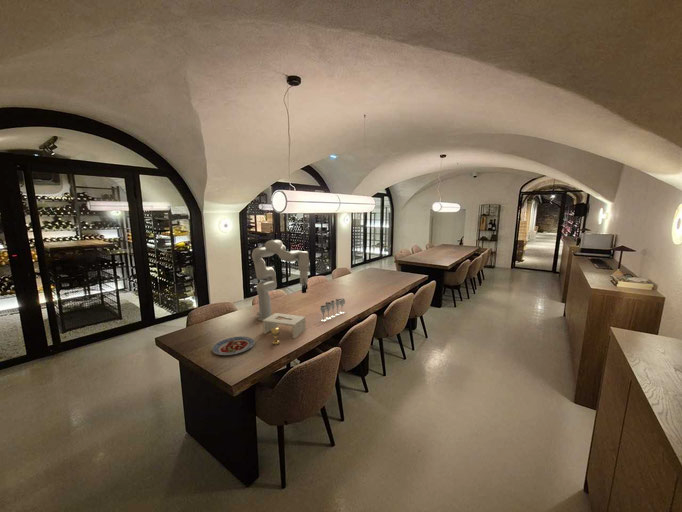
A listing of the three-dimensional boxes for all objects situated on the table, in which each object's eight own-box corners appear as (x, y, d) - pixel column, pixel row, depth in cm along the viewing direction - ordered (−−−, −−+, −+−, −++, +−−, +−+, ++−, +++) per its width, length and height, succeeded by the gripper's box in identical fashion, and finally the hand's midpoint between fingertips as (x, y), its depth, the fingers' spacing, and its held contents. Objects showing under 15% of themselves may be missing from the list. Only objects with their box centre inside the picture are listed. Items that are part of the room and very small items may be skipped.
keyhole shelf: (263, 333, 207) (262, 320, 206) (276, 325, 222) (275, 313, 220) (294, 338, 198) (294, 324, 196) (305, 329, 212) (305, 316, 211)
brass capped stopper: (270, 344, 189) (269, 329, 187) (275, 341, 194) (274, 326, 192) (277, 345, 187) (276, 330, 186) (281, 342, 192) (280, 327, 190)
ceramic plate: (225, 338, 200) (224, 334, 199) (260, 339, 197) (260, 335, 197) (204, 357, 175) (203, 352, 174) (244, 358, 172) (243, 354, 171)
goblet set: (324, 322, 226) (323, 306, 224) (319, 320, 230) (318, 304, 228) (346, 312, 247) (346, 297, 245) (341, 311, 251) (341, 296, 249)
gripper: (300, 266, 215) (301, 288, 218) (297, 270, 198) (298, 294, 201) (309, 266, 215) (310, 287, 218) (307, 270, 198) (308, 294, 201)
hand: (304, 291), depth 209 cm, fingers open, 9 cm apart
